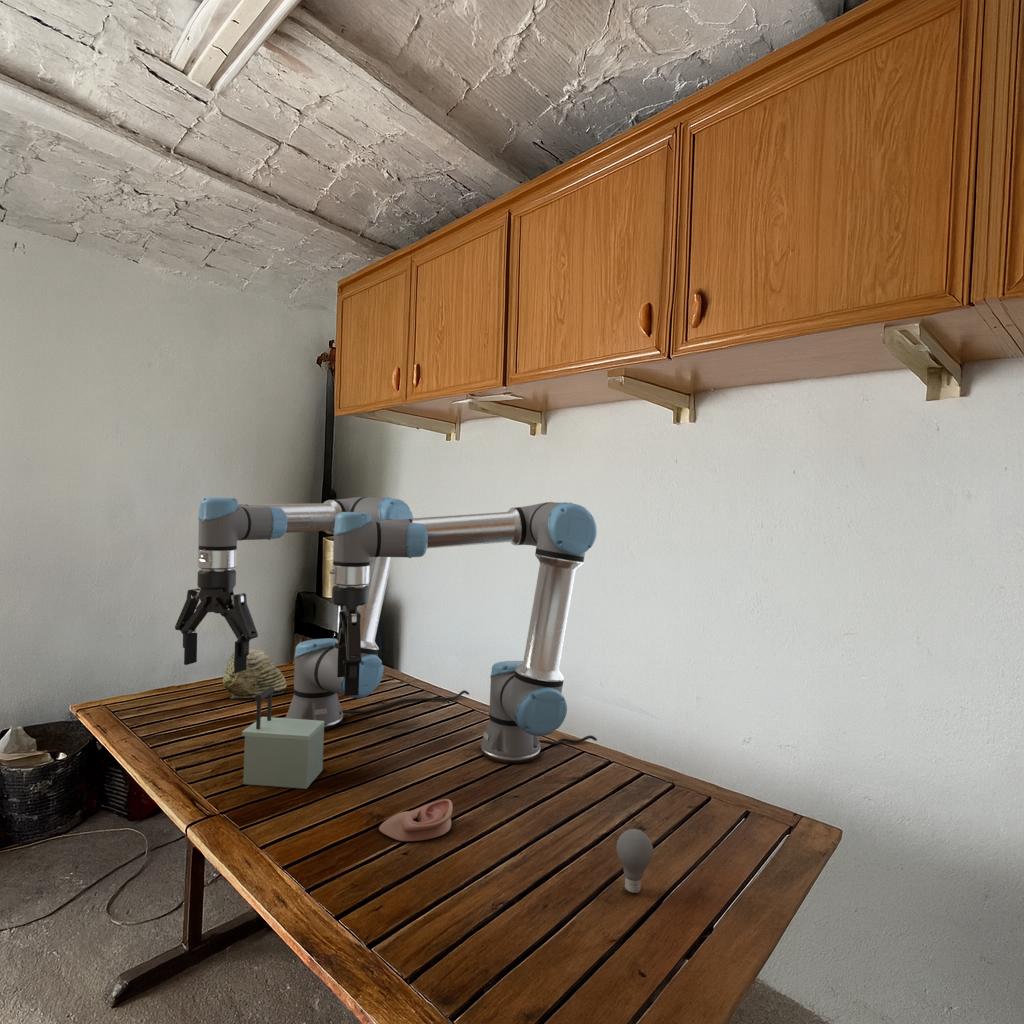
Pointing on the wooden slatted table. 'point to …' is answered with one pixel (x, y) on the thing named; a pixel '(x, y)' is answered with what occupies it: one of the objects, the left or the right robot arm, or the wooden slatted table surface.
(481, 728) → the wooden slatted table surface
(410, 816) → the anatomical model
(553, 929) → the wooden slatted table surface
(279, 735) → the lid
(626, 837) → the light bulb
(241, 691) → the fossil
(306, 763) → the chest
